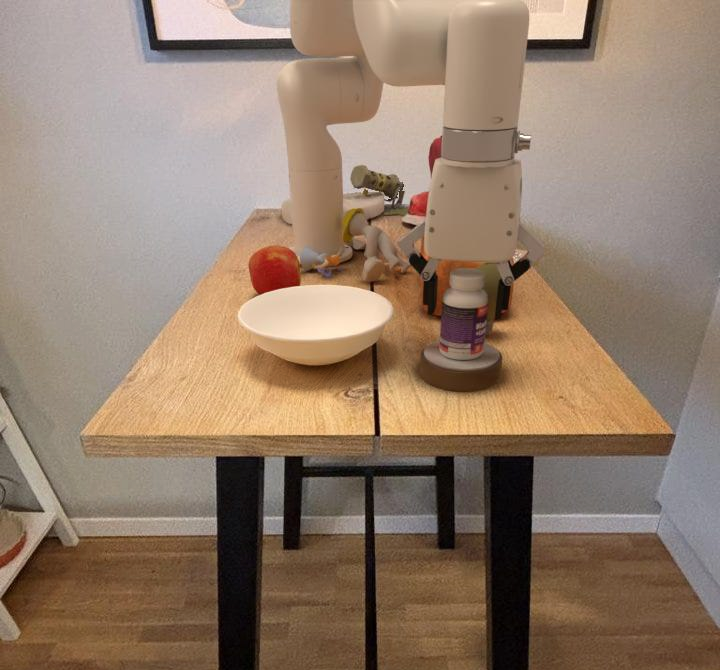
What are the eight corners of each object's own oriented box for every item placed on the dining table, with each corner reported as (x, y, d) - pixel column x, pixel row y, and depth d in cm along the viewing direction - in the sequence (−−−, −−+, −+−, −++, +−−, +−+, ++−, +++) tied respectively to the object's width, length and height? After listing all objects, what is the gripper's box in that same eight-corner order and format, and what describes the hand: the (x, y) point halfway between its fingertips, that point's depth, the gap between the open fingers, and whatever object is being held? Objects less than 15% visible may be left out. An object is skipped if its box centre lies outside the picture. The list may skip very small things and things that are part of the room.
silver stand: (425, 354, 87) (426, 334, 85) (502, 360, 85) (504, 339, 83) (414, 387, 79) (415, 366, 77) (498, 395, 77) (501, 373, 75)
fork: (325, 218, 138) (326, 232, 139) (366, 241, 122) (366, 256, 123) (338, 217, 138) (338, 231, 140) (380, 240, 123) (380, 255, 124)
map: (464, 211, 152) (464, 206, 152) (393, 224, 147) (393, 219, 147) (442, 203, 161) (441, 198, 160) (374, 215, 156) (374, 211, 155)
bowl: (228, 340, 91) (222, 295, 88) (360, 319, 97) (359, 276, 94) (265, 402, 76) (259, 350, 73) (418, 372, 82) (420, 323, 78)
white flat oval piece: (257, 219, 150) (256, 206, 148) (334, 196, 168) (333, 184, 166) (334, 231, 138) (333, 217, 136) (407, 205, 156) (407, 192, 155)
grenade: (353, 160, 148) (397, 173, 158) (343, 190, 151) (387, 201, 162) (373, 171, 144) (417, 184, 155) (363, 202, 147) (406, 212, 158)
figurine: (371, 303, 117) (324, 248, 122) (412, 274, 117) (364, 220, 122) (363, 271, 107) (313, 212, 112) (408, 239, 108) (357, 182, 112)
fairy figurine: (294, 239, 122) (352, 237, 117) (298, 265, 124) (355, 264, 119) (261, 256, 113) (322, 254, 108) (267, 283, 116) (327, 283, 111)
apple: (298, 306, 102) (295, 254, 98) (245, 306, 103) (239, 254, 98) (305, 289, 109) (302, 240, 104) (255, 289, 109) (250, 240, 105)
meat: (454, 242, 128) (418, 107, 122) (399, 264, 150) (366, 150, 143) (543, 214, 136) (514, 85, 129) (478, 239, 157) (450, 129, 151)
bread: (418, 319, 96) (423, 208, 88) (419, 265, 118) (422, 172, 109) (514, 321, 95) (528, 209, 87) (497, 266, 117) (506, 172, 108)
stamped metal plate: (539, 265, 118) (540, 257, 117) (505, 270, 116) (505, 261, 116) (516, 253, 124) (517, 245, 123) (483, 257, 122) (484, 249, 122)
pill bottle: (482, 363, 78) (490, 281, 72) (436, 359, 79) (441, 279, 73) (484, 345, 82) (492, 267, 76) (441, 342, 83) (446, 264, 77)
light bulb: (479, 324, 95) (485, 254, 89) (511, 334, 92) (520, 262, 86) (454, 335, 92) (460, 263, 86) (487, 346, 89) (495, 272, 83)
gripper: (564, 143, 69) (540, 307, 79) (401, 140, 72) (397, 298, 82) (567, 154, 63) (540, 330, 73) (388, 150, 66) (386, 319, 76)
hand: (464, 312), depth 77 cm, fingers open, 7 cm apart
